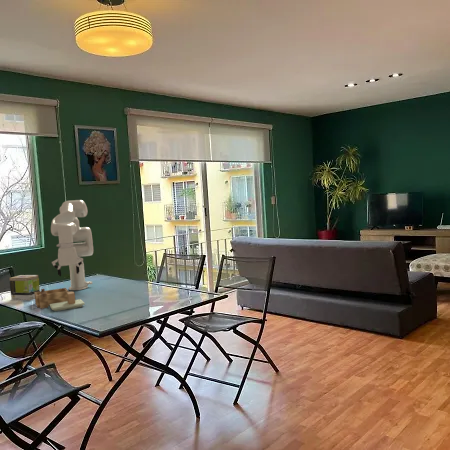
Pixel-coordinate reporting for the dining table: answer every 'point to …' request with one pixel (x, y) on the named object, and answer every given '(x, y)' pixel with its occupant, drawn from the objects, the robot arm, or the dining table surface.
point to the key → (43, 293)
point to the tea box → (24, 287)
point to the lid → (67, 303)
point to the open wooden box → (50, 297)
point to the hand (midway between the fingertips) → (68, 274)
